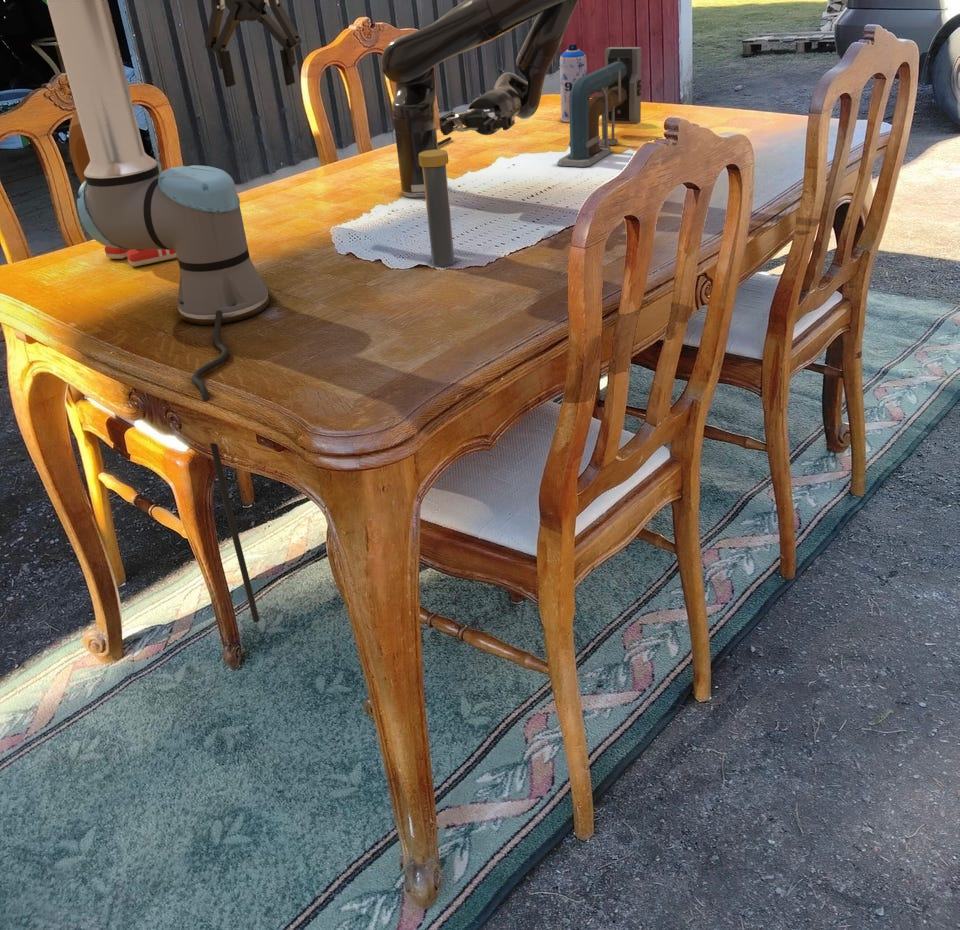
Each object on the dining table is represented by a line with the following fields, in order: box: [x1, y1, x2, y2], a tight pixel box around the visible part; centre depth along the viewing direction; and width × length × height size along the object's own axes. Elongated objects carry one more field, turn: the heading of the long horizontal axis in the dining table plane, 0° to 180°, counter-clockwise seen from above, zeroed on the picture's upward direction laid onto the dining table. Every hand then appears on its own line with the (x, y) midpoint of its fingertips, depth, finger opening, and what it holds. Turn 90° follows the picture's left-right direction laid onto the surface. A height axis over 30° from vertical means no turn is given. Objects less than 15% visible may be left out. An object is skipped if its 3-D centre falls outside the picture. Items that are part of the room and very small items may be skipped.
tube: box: [422, 164, 456, 267], centre depth 174 cm, size 4×4×19 cm
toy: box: [68, 110, 177, 267], centre depth 187 cm, size 21×10×30 cm, turn 47°
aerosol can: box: [559, 43, 588, 123], centre depth 273 cm, size 8×8×20 cm
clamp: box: [556, 46, 642, 168], centre depth 239 cm, size 35×9×21 cm, turn 151°
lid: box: [418, 149, 449, 167], centre depth 169 cm, size 5×5×2 cm
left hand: (260, 85), depth 196 cm, fingers open, 13 cm apart
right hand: (464, 129), depth 185 cm, fingers open, 8 cm apart
